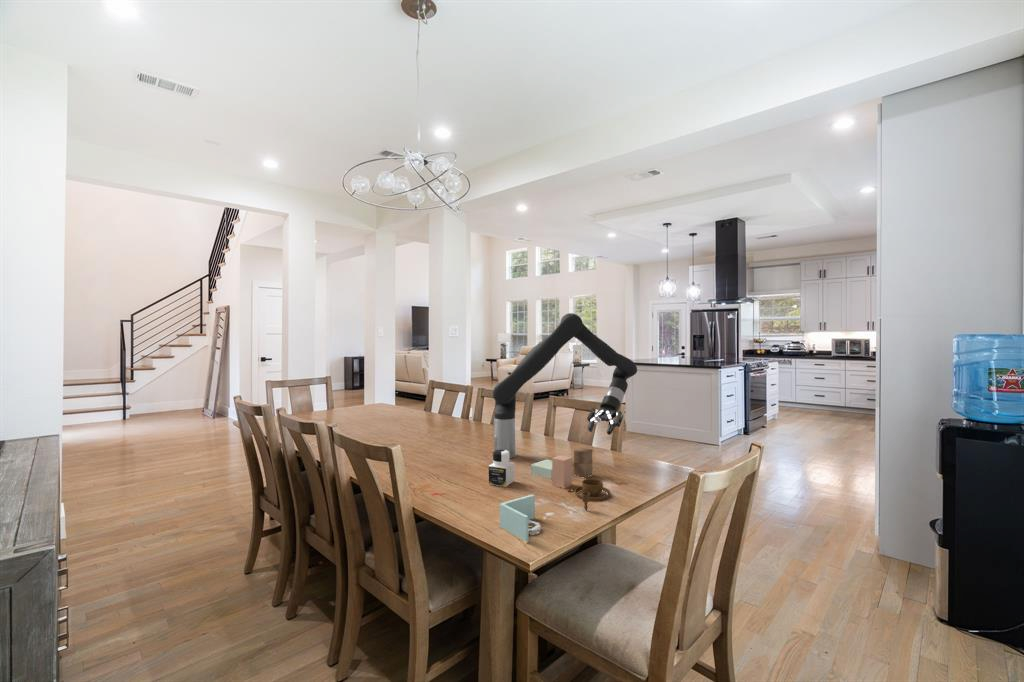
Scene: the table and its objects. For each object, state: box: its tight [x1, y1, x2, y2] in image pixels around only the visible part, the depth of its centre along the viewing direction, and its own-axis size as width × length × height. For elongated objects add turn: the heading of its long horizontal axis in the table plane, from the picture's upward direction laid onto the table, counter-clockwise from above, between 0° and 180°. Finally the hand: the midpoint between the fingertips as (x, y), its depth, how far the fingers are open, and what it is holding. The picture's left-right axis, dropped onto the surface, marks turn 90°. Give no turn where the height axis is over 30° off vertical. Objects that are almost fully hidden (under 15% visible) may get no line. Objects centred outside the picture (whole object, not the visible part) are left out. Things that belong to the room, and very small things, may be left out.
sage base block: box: [530, 459, 552, 480], centre depth 182 cm, size 10×10×4 cm
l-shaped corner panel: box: [499, 493, 542, 542], centre depth 131 cm, size 12×12×8 cm
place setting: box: [567, 478, 611, 512], centre depth 155 cm, size 18×20×6 cm
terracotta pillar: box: [551, 454, 573, 489], centre depth 167 cm, size 5×5×10 cm
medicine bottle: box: [488, 450, 515, 488], centre depth 171 cm, size 7×7×12 cm
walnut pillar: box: [573, 447, 593, 479], centre depth 178 cm, size 5×5×10 cm
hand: (598, 432), depth 187 cm, fingers open, 8 cm apart
